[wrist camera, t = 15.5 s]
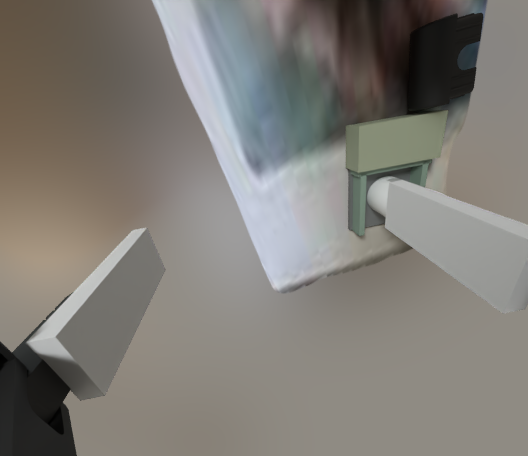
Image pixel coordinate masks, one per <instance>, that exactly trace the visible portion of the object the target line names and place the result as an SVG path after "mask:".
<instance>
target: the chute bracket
mask: <svg viewBox="0 0 528 456" xmlns="http://www.w3.org/2000/svg"><path fill="white" fill-rule="evenodd" d="M447 115H448V110H438V111H425V112H419V113H414V114H409V115H403V116H398V117H392V118H387V119H381V120H376V121H370V122H365V123H359V124H354V125H348V126H346V168H347V169H349V195H348V229H349V230H353V231H354V232H355V233H357V234H358V235H359V236H362V235H364V230H365V227H370V226H375V225H380V224H385V220H386V217H384V216H383V215H381V214H380V213H378V212H376V211H375V210H373V209H372V208H371V207H370V206H369V204H368V202H367V194H368V190H369V188H370V187H371V185H372V184H373V183H374V182H375V181H377V180H378V179H379V178H382V177H385V176H393V177H396V178H399V179H402V180H405V181H408V182H411V183H414V184H417V185H420V186H423V187H425V184H426V178H427V171H428V165H429V163H432V159H433V158H438V157H440V155H441V149H442V144H443V138H444V132H445V127H446V121H447Z"/></svg>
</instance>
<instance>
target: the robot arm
mask: <svg viewBox="0 0 528 456" xmlns="http://www.w3.org/2000/svg"><path fill="white" fill-rule="evenodd" d="M385 228H386V229H387V230H389V231H390V232H392V233H393V234H394V235H396V236H397V237H398V238H400V239H401V240H403V241H404V242H405V243H407V244H408V245H409V246H411V247H412V248H414V249H415V250H417V251H418V252H419V253H421V254H422V255H423V256H425V257H426V258H427V259H429V260H430V261H431V262H433V263H434V264H436V265H437V266H438V267H440V268H441V269H443V270H444V271H445V272H447V273H448V274H449V275H451V276H452V277H454V278H455V279H456V280H458V281H459V282H461V283H462V284H463V285H464V286H466V287H467V288H469V289H470V290H471V291H473V292H474V293H475V294H477V295H478V296H480V297H481V298H483V299H484V300H485V301H486V302H488V303H489V304H491V305H492V306H493V307H495V308H496V309H498V310H499V311H501V312H502V313H508V312H513V311H518V310H523V309H525V308H526V306H527V304H528V225H526V224H524V223H521V222H518V221H515V220H512V219H510V218H507V217H504V216H501V215H499V214H496V213H493V212H490V211H487V210H485V209H482V208H479V207H476V206H474V205H471V204H468V203H465V202H463V201H460V200H457V199H454V198H451V197H448V196H446V195H443V194H440V193H438V192H435V191H432V190H429V189H426V188H424V187H421V186H418V185H415V184H413V183H410V182H407V181H404V180H400V181H394V182H389V187H388V198H387V209H386V220H385ZM164 272H165V267H164V265H163V263H162V260H161V258H160V256H159V253H158V251H157V249H156V247H155V244H154V242H153V240H152V237H151V235H150V233H149V230H148V228H142V229H137V230H132V232H131V233H130V234H129V235H128V236H127V237H126V238H125V239H124V240H123V241H122V242H121V243H120V244H119V245H118V246H117V247H116V248H115V249H114V250H113V252H112V253H111V254H110V255H109V256H108V257H107V258H106V259H105V260H104V261H103V262H102V263H101V264H100V265H99V266H98V267H97V268H96V270H94V272H93V273H92V274H91V275H90V276H89V277H88V278H87V279H86V280H85V281H84V282H83V283H82V284H81V285H80V286H79V287H78V288H77V289H76V290H75V291H74V292H73V293H71V294H70V295H69V296H67V297H66V298H65V299H64V300H63V301H62V302H61V303H60V304H59V305H58V306H57V307H56V308H55V311H52V312H51V313H50V314H49V315H48V316H47V317H46V320H43V321H42V322H41V323H40V324H39V326H38V327H37V328H36V329H35V330H34V331H33V332H32V333H31V334H30V335H29V336H28V337H27V338H26V339H25V340H24V341H23V342H22V343H21V344H20V345H19V346H18V347H17V348H16V349H15V350H14V351H13V352H10V350H8V349H7V347H5V346H4V345H3V344H2V343H1V342H0V456H77V455H76V449H75V444H74V438H73V433H72V427H71V421H70V416H69V410H68V408H67V407H66V405H65V404H64V403H63V401H64V399H65V397H66V396H67V394H68V393H69V391H70V390H71V391H72V392H73V393H74V394H75V395H76V396H77V398H78V399H79V400H80V401H81V400H85V399H91V398H96V397H100V396H105V394H106V392H107V390H108V388H109V386H110V384H111V382H112V380H113V378H114V376H115V374H116V372H117V370H118V367H119V365H120V363H121V361H122V359H123V357H124V355H125V353H126V351H127V349H128V346H129V345H130V343H131V340H132V338H133V336H134V334H135V332H136V330H137V328H138V326H139V324H140V322H141V320H142V317H143V316H144V313H145V311H146V309H147V307H148V305H149V303H150V301H151V299H152V297H153V295H154V293H155V291H156V288H157V286H158V284H159V282H160V280H161V278H162V276H163V274H164Z"/></svg>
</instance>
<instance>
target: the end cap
mask: <svg viewBox="0 0 528 456" xmlns="http://www.w3.org/2000/svg"><path fill="white" fill-rule="evenodd" d="M457 17H458V15H457V14H453V15H450V16H447V17H444V18H442V19H439V20H436V21H434V22H431V23H429V24H427V25H424V26H422V27H420V28H418V29H416V30H414V31H413V32H412V33H411V34H410V59H409V100H408V109H409V110H412V111H413V110H422V109H427V108H432V107H437V106H441V105H445V104H448V103H449V101H450V99H454V98H457V97H460V96H464V95H465V94H467V93H470V92H472V90H473V88H474V81H475V74H476V67H475V68H471V69H467V70H461V69H459V67H458V65H457V59H458V55H459V53H460V51H461V50H462V49H463V48H464V47H465V46H466V45H468V44H472V43H475V42H478V41H480V37H481V30H482V22H483V14H482V13H478V14H474V13H472V14H469V15H466V16H462V17H459V18H457Z"/></svg>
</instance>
